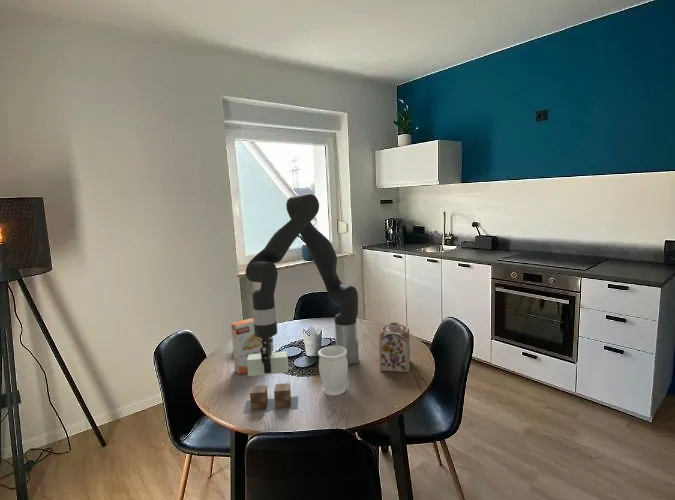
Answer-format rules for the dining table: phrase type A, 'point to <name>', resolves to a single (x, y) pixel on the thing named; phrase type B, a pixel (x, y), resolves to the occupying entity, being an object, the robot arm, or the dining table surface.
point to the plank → (277, 364)
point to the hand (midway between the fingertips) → (268, 369)
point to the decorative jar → (394, 348)
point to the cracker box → (244, 343)
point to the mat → (271, 406)
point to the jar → (333, 369)
